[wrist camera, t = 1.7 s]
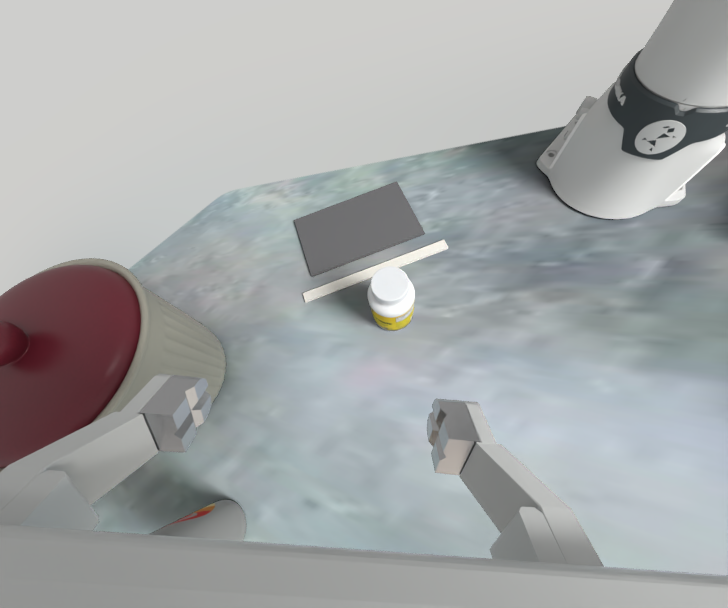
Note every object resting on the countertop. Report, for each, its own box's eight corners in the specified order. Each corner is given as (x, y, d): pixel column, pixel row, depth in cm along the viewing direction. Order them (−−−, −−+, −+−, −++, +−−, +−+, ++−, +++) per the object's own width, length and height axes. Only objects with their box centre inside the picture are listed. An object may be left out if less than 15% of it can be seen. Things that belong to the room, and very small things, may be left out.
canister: (133, 330, 42) (-103, 260, 22) (246, 301, 41) (105, 202, 21) (118, 464, 35) (-244, 532, 15) (253, 432, 34) (55, 460, 15)
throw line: (443, 240, 40) (443, 239, 40) (448, 248, 40) (448, 247, 39) (303, 293, 40) (302, 293, 40) (306, 302, 40) (305, 301, 39)
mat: (396, 183, 45) (396, 181, 45) (424, 234, 41) (424, 232, 41) (294, 221, 45) (294, 220, 45) (312, 276, 41) (311, 275, 41)
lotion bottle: (194, 514, 32) (-99, 660, 13) (238, 488, 32) (15, 594, 14) (206, 571, 29) (-122, 842, 11) (254, 543, 30) (14, 758, 11)
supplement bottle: (365, 310, 38) (353, 279, 29) (396, 287, 39) (394, 250, 30) (389, 340, 36) (384, 317, 27) (421, 316, 37) (427, 285, 28)
